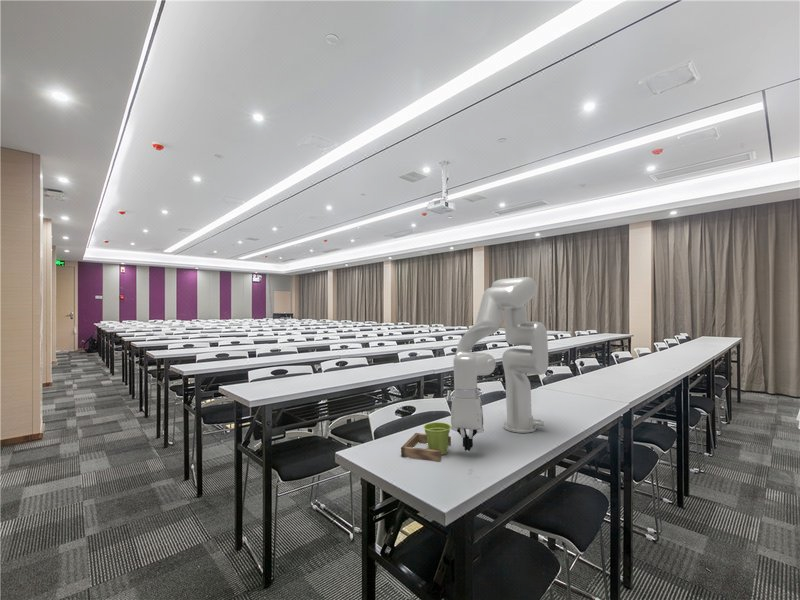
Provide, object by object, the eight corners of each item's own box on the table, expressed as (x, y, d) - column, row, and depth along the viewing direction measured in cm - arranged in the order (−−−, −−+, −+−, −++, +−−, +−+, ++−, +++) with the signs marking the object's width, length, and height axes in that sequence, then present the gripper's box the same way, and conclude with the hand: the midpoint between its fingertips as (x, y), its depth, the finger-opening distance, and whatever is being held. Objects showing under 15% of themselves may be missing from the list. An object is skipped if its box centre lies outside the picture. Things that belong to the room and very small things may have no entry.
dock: (451, 444, 129) (450, 436, 129) (440, 461, 115) (439, 452, 115) (415, 441, 133) (415, 432, 133) (401, 456, 119) (401, 447, 119)
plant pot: (419, 455, 120) (419, 429, 120) (429, 445, 128) (428, 420, 129) (447, 459, 116) (446, 432, 116) (455, 449, 125) (454, 423, 125)
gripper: (490, 391, 120) (492, 447, 120) (446, 389, 126) (448, 442, 125) (487, 397, 113) (489, 456, 113) (441, 394, 119) (442, 450, 118)
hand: (468, 449), depth 119 cm, fingers closed
